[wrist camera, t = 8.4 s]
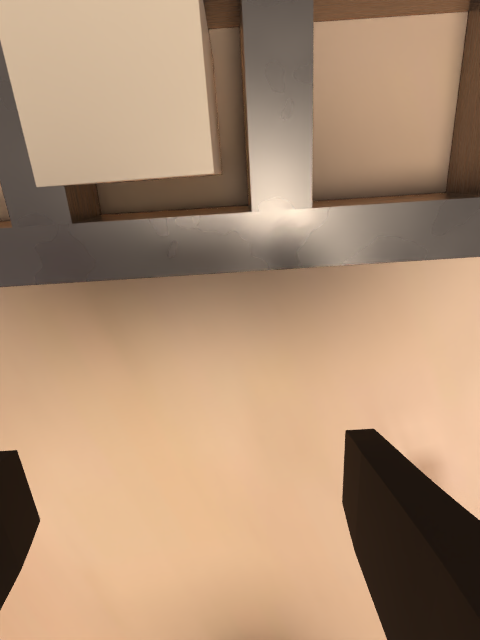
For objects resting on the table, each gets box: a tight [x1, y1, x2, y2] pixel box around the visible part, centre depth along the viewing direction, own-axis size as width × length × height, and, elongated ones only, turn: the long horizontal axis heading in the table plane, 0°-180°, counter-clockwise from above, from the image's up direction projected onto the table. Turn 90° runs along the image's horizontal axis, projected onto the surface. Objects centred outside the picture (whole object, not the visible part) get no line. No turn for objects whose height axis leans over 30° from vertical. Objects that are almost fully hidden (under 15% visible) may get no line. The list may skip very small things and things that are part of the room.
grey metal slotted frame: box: [0, 0, 480, 287], centre depth 13 cm, size 26×10×3 cm, turn 93°
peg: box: [0, 0, 222, 187], centre depth 11 cm, size 4×4×7 cm
